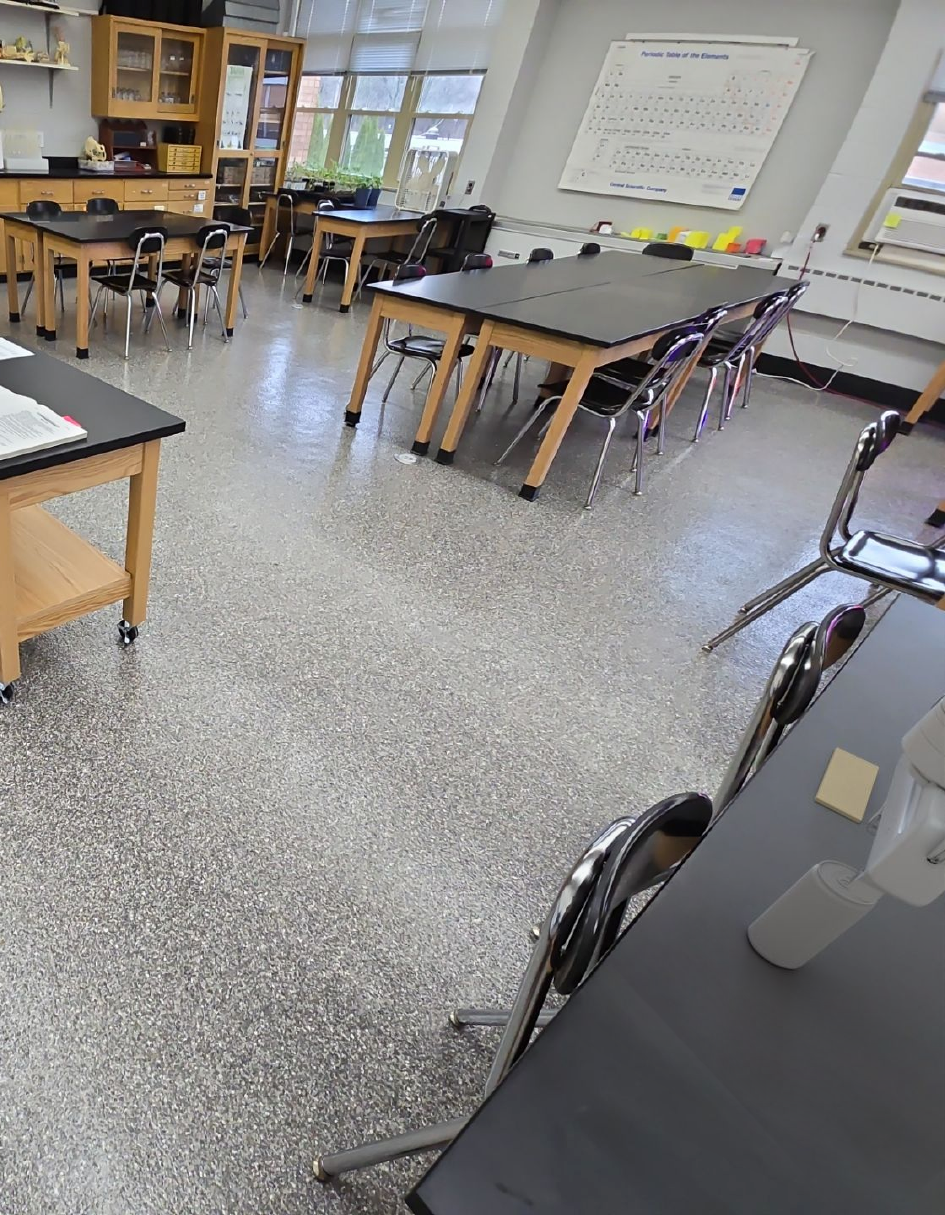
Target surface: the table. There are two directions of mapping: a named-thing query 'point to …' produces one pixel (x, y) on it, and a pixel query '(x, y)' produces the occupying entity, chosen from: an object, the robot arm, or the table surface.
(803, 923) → the beverage can
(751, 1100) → the table surface
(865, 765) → the napkin
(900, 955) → the table surface
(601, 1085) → the table surface
